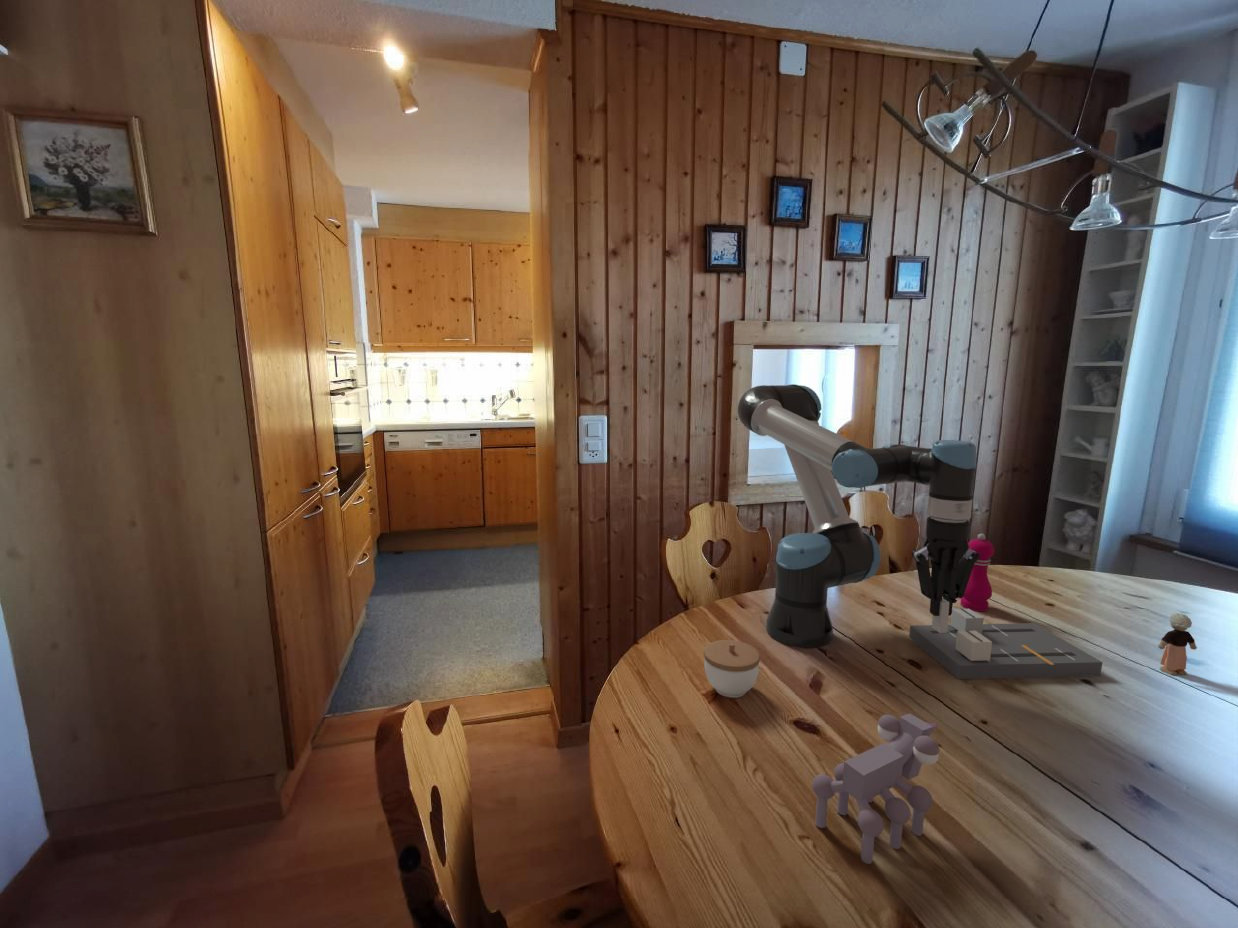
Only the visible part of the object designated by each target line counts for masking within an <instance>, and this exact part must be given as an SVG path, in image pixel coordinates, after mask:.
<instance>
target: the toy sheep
mask: <svg viewBox="0 0 1238 928" xmlns="http://www.w3.org/2000/svg"><path fill="white" fill-rule="evenodd" d="M877 724H878V725H877V733H878V735H879V736H880V738H881V739H882V740H883V741H885V742H887V743H888V744H886V743H885V742H883V743H880V744H879V745H877V746H874V747H871V748H870V749H867V750H865V751H864V752H861V753H860V754H857V755H855V756H853V757H851V758H848V759H846V760H844V762H841V763H838V764H837V765H836V766H835V768H834V772H833V775H834V778H835V780H833V779H832V778H831V777H830V776H829V775H826V774H823V773H820V774H818V775H817V774H816V776H815V777H813V780H812V783H811V788H812V791H813V792H814V794H815V795H816V809H815V822H814V825H815V826H816V827H817V828H820V829H825V828H826V824H827V811H828V810H827V809H828V800H830V799H833V797H834V796H835V794H837V793H838V796H837V797H838V798H837V807H836V812H837V813H838V814H839V815H842V816H847V815H848V811H849V798H850V796H851V797H852V798H853V799H855V800H856V803H857V807H858V809H859V811H860V812H859V813H858V815H857V825H858V827H859V829H860V831H861V832H862V839H861V840H862V841H861V854H860V858H861V859H860V860H861V861H862V862H863V863H864V864H868V865H869V864H870V865H871V864H872V863H873V859H874V847H875V838H876V837H880V835H882V833H883V832H884V827H885V825H884V819H883V818H882V817H881V815H880V814H879V813H878V812H877V811H876V810H874V809H872V808H871V806H870V804H869V803H873V801H874V799H873V798H875V797H877V796H879V795H880V796H881V798H882V799H883V800H884V802H885V804H884V812H885V815H886V816H887V818H888V819H889V820H890V833H889V841H888V843H889V846H890V847H891V848H892V849H894V850H899V849H900V848H901V847H902V846H901V845H902V836H903V827H904V826H903V825H905V824H907V823H909V821H910V819H911V826H910V828H911V829H910V830H911V831H910V832H911V833H912V834H913V835H915V836H918V837H919V836H923V831H924V821H925V812H928V811H929V810H931V808H932V806H933V797H932V795H931V793H930V791H929V790H928V789H927V788H926V787H924V786H922V785H920V784H919V785H918V784H917V785H912V784H910V783H909V782H907V781H908V780H911V779H914V778H916V777H919V774H920V770H921V767H922V765H925V766H931V765H934V764H935V763H936V762H937V761H938V759H939V752H940V749H939V748H940V747H939V745H938V742H937V741H936V740H935V739H934V738H933V737H931V735H932V733H933V731H934V729H935V728H936V726H937V725H936V724H935V723H930V722H927V721H924V720H922V719H921V718H918V717H917V716H915V715H913V714H912V713H908V714H907V713H906V714H904V715H902V716H899V718H897V717H896V716H894V715H892V714H884V715H883V714H882V715H881V716H880V717H879V718H878V721H877ZM903 778H904V779H906V780H907V781H906V780H904V779H903ZM894 787H896V788H897V789H899V790H900V791H901V792H903V793H904V795H906V797H907V798H906V799H907V801H908V803H907V802H906V801H905V800H904V799H902V798H900V797H897V796H895V795H894V793H892V792H891V789H892V788H894ZM908 804H909V805H908ZM910 806H911V807H912V812H911V809H910ZM911 813H912V815H911ZM911 816H912V817H911Z"/></svg>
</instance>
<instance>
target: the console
mask: <svg viewBox="0 0 1238 928" xmlns="http://www.w3.org/2000/svg"><path fill="white" fill-rule="evenodd" d="M957 631H958V630H957V629H955V628H954V627H952V626H951V624H948V625H947V633H939V632H938V631H936V630H935V629H934V628H932V624H928V625H926V624H923V625H919V624H918V625H917V624H916V625H910V626H909V632H908V633H909V634H908V639H910V640H911V641H912V642H914V643H915V644H916V645H917V646H918V647H919V648H921V650H923V651H924V652H926V654H928V655H929V656H930V657H931V658H933V659H934V660H935V661H936V662H937V663H938V664H940V666H942V667H943V668H944V669H945V670H947V671H948V672H949V673H950V674H951V675H952V676H954V677H955V678H956V679H957V680H975V679H976V680H978V679H984V680H985V679H1018V678H1020V679H1021V678H1023V679H1024V678H1027V679H1028V678H1053V677H1054V678H1061V677H1062V678H1063V677H1068V678H1069V677H1101V676H1102V675H1101V674H1102V669H1103V661H1101V660H1100V659H1097V658H1096V657H1094V656H1093V655H1091V654H1089V653H1087V652H1085V651H1084V650H1082V649H1080V648H1078V647H1077V646H1075V645H1073V644H1072V643H1070V642H1068V641H1067V640H1064V639H1063V638H1061V637H1059V636H1057V635H1056V634H1054V633H1052V632H1051V631H1049V630H1047V629H1045V628H1044V627H1041V626H1040V625H1038V624H1037V623H1034V622H1030V623H1029V622H1028V623H1027V622H1025V623H983V629H982V635H983V636H984V637H985V638H987V639H988V640H990V641H991V642H992V647H991V656H990V660H982V661H971V660H969V659H968V658H967V657H965V656H964V655H963V654H962V653H960V652H959V651H958V650H956V649H955V648H956V638H957Z"/></svg>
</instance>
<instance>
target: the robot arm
mask: <svg viewBox="0 0 1238 928" xmlns="http://www.w3.org/2000/svg"><path fill="white" fill-rule="evenodd" d="M821 411H822V403H821V400H820V397H819V395H818V394H817V393H816V391H815V390H813V389H812V388H811V387H808V386H806V385H801V384H800V385H799V384H795V383H793V384H787V385H785V384H784V385H782V384H781V385H780V384H779V385H774V384H773V385H772V384H771V385H764V384H763V385H757V386H754V387H752V388H749V389H747V390H746V391H745V392H744V393H743V395H742V396H741V397H740V399H739V402H738V403H737V414H738V419H739V421H740V422H741V424H742V425H743V426H744V427H745V428H746V429H748V430H749V431H750V432H753V433H754V434H756V435H758V436H762V437H764V436H765V437H766V436H768V437H770V438H772V439H774V440H776V441H777V442H779V443H781V444H782V445H784V448H785V450H786V453H787V456H788V458H789V461H790V464H791V467H792V469H793V473H794V476H795V478H796V480H797V484H798V487H799V488H800V491H801V494H802V496H803V499H804V502H805V505H806V508H807V511H808V513H809V516H810V519H811V521H812V524H813V527H814V530H813V531H812V532H804V533H803V532H797V533H791V534H788V535H786V536H784V537H783V538H782V539H780V541H779V542H778V544H777V553H776V555H775V557H776V558H775V559H776V560H775V561H776V563H775V564H776V569H775V572H776V573H775V592H774V594H775V595H774V600H773V603H772V606H771V608H770V610H769V612H768V615H767V618H766V621H765V622H766V625H765V626H766V627H765V628H766V629H765V630H766V632H767V635H769V636H770V637H771V638H773V639H774V640H776V641H777V642H780V643H783V644H786V645H789V646H793V647H799V648H819V647H824V646H826V645H828V644H830V643H831V642H832V641H833V636H834V635H833V634H834V626H833V623H832V620H831V617H830V612H829V609H828V606H827V605H828V604H827V602H828V601H827V600H828V590H829V588H834V587H840V586H844V585H849V584H855V583H857V584H858V583H859V582H862V581H865V580H868V579H870V578H871V577H873V576H874V575H875V574H876V573H877V572H878V570H879V566H880V564H881V561H882V560H881V559H882V558H881V557H882V553H881V548H880V545H879V544H878V542H877V540H876V539H875V537H874V536H872V535H871V534H869V533H868V532H865V531H862V528H861V526H860V524H859V521H858V520H856V519H853V518H850V516H849V514H848V511H847V509H846V506H845V503H844V501H843V498H842V496H841V492H840V490H839V488H838V486H837V485H840V486H842V487H844V488H849V489H850V488H856V489H862V488H867V487H872V486H878V485H879V486H881V485H888V484H890V485H891V484H897V483H914V484H921V485H924V486H925V485H926V486H929V490H928V500H927V515H928V517H927V518H926V526H925V534H926V540H925V542H924V544H923V547H922V548H921V549H919V550H918V551H917V550H912V551H911V556H912V557H913V559H914V560H915V564H916V570H917V576H918V581H919V587H920V593H921V594H922V595H923V596H924V597H926V598H927V599H928V600H930V602H929V603H930V604H929V613H930V614H931V615H932V621H931V625H932V628H934V629H935V630H936V631H938V632H939V633H947V625H949V623H948V621H949V617H950V616H951V615H952V609H953V604H955V603H957V602H958V600H957V599H961V598H963V596H964V593H965V590H966V587H967V584H968V581H969V578H970V575H971V572H972V569H973V566H974V564H975V563H976V561H977V560H978V559H979V557H980V554H979V553H977V552H975V551H972V550H971V549H969V544H968V543H969V542H968V540H969V539H970V534H971V532H970V531H971V522H970V521H969V520H970V519H971V518H972V507H973V496H974V493H973V492H974V484H975V474H976V469H977V465H978V464H977V446H976V444H974V443H973V442H971V441H967V440H956V439H955V440H954V439H940V440H939V439H937V440H935V441H934V442H933V443H932V447H931V448H926V447H921V446H920V447H918V446H913V445H906V444H902V443H900V444H895V443H894V444H892V443H891V444H890V443H889V444H885V445H883V446H882V447H878V448H877V447H876V448H868V447H865V446H863V445H861V444H860V443H859V444H858V443H857V442H855V441H853V440H850V439H849V438H847V437H845V436H843V435H841V434H838V433H836V432H834V431H832V430H830V429H828V428H826V427H824V426H822V425H820V423H819V420H820V418H821V415H822V413H821ZM836 482H837V483H836ZM929 558H930V565H929V561H928V560H929ZM930 566H931V570H930Z"/></svg>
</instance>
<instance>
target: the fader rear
mask: <svg viewBox="0 0 1238 928" xmlns="http://www.w3.org/2000/svg"><path fill="white" fill-rule="evenodd" d="M983 624H984V617H983V616H982V615H980V614H978V613H977V612H976V611H974V610H970V609H967V608H952V614H951V617H950V625H951V626H952V627H954V628H955V629H957V630H958V631H977V632H978V633H980V634H981V635H982V629H983Z"/></svg>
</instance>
